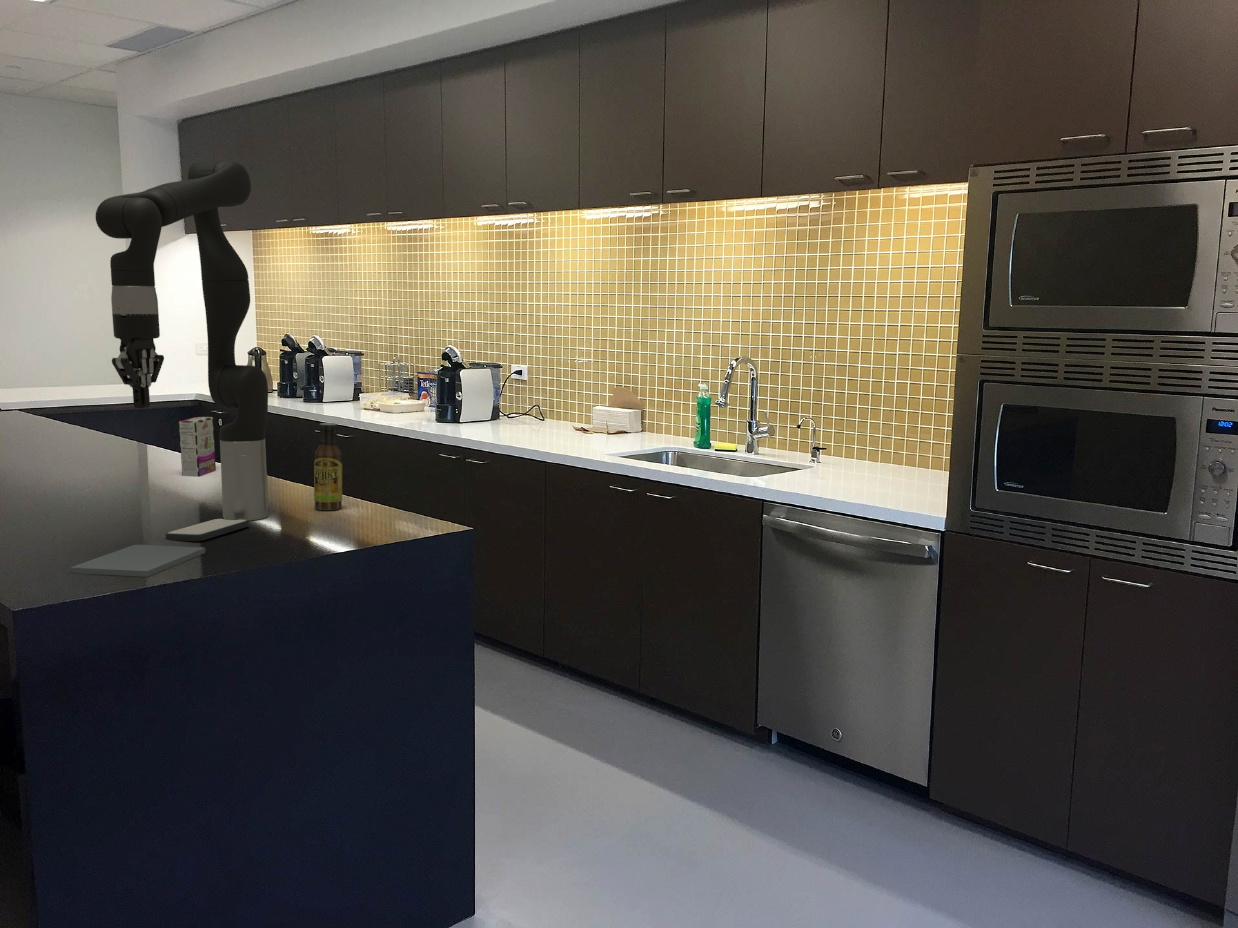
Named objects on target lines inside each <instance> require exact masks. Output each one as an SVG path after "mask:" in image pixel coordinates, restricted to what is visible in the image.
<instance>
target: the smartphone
mask: <svg viewBox="0 0 1238 928" xmlns="http://www.w3.org/2000/svg"><path fill="white" fill-rule="evenodd" d="M249 526H250V520H240V519H223V518H215V519H211V520H208V521H207V520H206V521H203V522H200V523H196V524H193V525H189V526H187V527H182V528H178V529H176V530H172V531H168V532H166V533H165V540H167V541H178V542H179V541H180V542H181V541H183V542H184V541H185V542H202V541H206V540H208V539H213V538H215V537H219V536H221V535H225V534H229V533H232V532H235V531H239V530H241V529H245V528H247V527H248V528H249Z"/></svg>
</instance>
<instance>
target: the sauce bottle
mask: <svg viewBox="0 0 1238 928" xmlns="http://www.w3.org/2000/svg"><path fill="white" fill-rule="evenodd" d="M338 425H339V424H338V423H336V422H323V423H322V422H321V423H319V425H318V428H319V429H318V430H319V445H318V446H317V448H316V450H315V451H314V463H313V471H314V472H313V473H314V474H313V475H314V476H313V478H314V481H313V486H314V487H313V491H314V493H313V500H314V508H315V509H316V510H317V511H318V510H320V511H338V510H341V509H342V506H343V505H342V501H343V462H342V461H343V458H342V457H343V453H342V451H341V449H340V447H339V445H338V440H337V439H338V438H337V437H338V429H339V428H338Z"/></svg>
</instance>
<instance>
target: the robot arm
mask: <svg viewBox="0 0 1238 928" xmlns="http://www.w3.org/2000/svg"><path fill="white" fill-rule="evenodd" d="M251 189H252V182H251V178H250V174H249V172H248V170H247V169H246V168H245V166H244V165H242V163H240V162H237V161H236V160H227V159H225V160H224V159H222V160H221V159H220V160H219V159H218V160H217V159H215V160H197V161H196V160H195V162H192V163H191V164H190V166H189V168H188V171H187V179H186V180H178V181H172V182H167V183H163V184H159V185H157V186H154V187H150V188H148V189H146V190H143V191H140V192H132V193H128V194H121V195H120V194H119V195H115V196H112V197H108V198H106V199H104V200H103V201H101V202H100V204H99V205H98V206H97V208H96V211H95V222H96V225H97V227H98V229H99V230H100V232H102V233H103V234H105V235H106V236H107V237H110V238H113V239H127V240H129V239H130V242H129V246H128V248H127V249H126V250H123V251H120V252H116V253H114V254H112V256H111V257H110V261H109V262H110V278H111V280H110V281H111V295H110V296H111V297H110V298H111V300H110V301H111V314H112V316H111V317H112V327H113V331H112V332H113V337H114V338H115V339H118V340H120V345H119V355H118V356H117V357H112V358H111V364H112V365H113V367H114V369H115V370H116V372H117V374H118V376H119V378H120V379H121V381H122V383H123V384H124V385H125V386H126V385H127V386H129V387H130V388H132V399H133V407H134V408H135V409H147V408H149V407H150V406H151V401H150V387H151V386H152V383H156V382H157V380H158V377H159V375H160V371H161V369H162V366H163V364H164V360H165V356H164V355H163V354H158V353H157V352H156V344H155V341H154V339H159V338H160V336H161V333H160V332H161V331H160V318H159V317H160V314H159V301H158V295H157V291H156V289H157V288H156V280H155V277H156V276H155V262H156V261H155V259H156V256H157V252H158V251H157V250H158V246H159V242H160V237H161V232H162V228H164V227H167V226H170V225H172V224H174V223H177V222H179V221H181V220H184V219H187V218H190V217H191V216H193V221H194V227H195V232H196V238H197V245H198V252H199V253H198V254H199V261H200V275H201V285H202V286H201V287H202V295H203V296H202V297H203V302H204V307H205V309H204V310H205V320H206V321H205V323H206V333H207V380H208V381H207V382H208V384H207V385H208V390H209V394H210V397H211V399H212V401H213V402H214V404H216V405H217V406H218V407H220V408H228V409H229V408H230V409H233V408H234V409H237V415H236V419H234V420H233V421H232V422H229V423H227V424H224V425H222V426H221V427H220V428H219V446H220V447H219V452H220V453H219V454H220V471H221V472H220V473H221V474H220V475H221V498H222V499H221V500H222V501H221V503H222V519H223V518H224V519H240V520H249V521H256V520H262V519H265V518H268V516H269V512H270V511H269V489H268V473H267V472H268V471H267V452H266V451H267V450H266V430H267V426H268V417H269V415H268V413H269V411H268V409H269V408H268V407H269V385H268V378H267V376H266V373H265V372H264V371H263V369H261V367H259V366H257V365H256V366H255V365H246V364H245V365H242V364H241V365H240V364H236V356H235V355H236V354H235V352H236V351H235V345H236V341H237V335H238V333H239V331H240V329H241V327H242V324H243V323H244V320H245V318H246V317H247V314H248V312H249V310H250V306H251V293H250V289H251V288H250V282H249V281H250V280H249V274H248V273H249V272H248V269H247V267H246V265H245V264H244V262H243V260H242V258H241V257H240V255H239V254H238V253H237V251H236V250H235V248H234V247H233V246H232V244H231V242H230V241H229V240H228V239H227V236H226V235H225V232H224V231H223V228H222V225H221V224H222V223H221V220H220V215H219V208H227V207H228V208H230V207H238V206H240V205H242V204H244V203H245V202H247V201H248V199H249V198H250V195H251V192H252V191H251Z"/></svg>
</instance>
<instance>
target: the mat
mask: <svg viewBox="0 0 1238 928" xmlns="http://www.w3.org/2000/svg"><path fill="white" fill-rule="evenodd" d="M203 554H206V547H201V546H199V547H197V546H196V547H195V546H180V545H179V546H178V545H175V546H174V545H158V544H157V545H153V544H133V545H130V546H127V547H124V548H122V549H118V550H116V551H113V552H110V553H107V554H105V555H101V556H99V557H96V558H93V559H90V560H87V561H84V562H81V563H79V564H76V565H73V566H70V570H69V571H70V573H71V574H80V575H99V576H104V575H105V576H116V577H117V576H119V577H121V576H122V577H140V578H142V577H143V578H148V577H150V576H154V575H155V574H156V575H157V573H160V572H163V571H165V570H167V569H170V568H173V567H175V566H177V565H180V564H182V563H185V562H187V561H189V560H192V559H194V558H196V557H199V556H201V555H202V556H203Z"/></svg>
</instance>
